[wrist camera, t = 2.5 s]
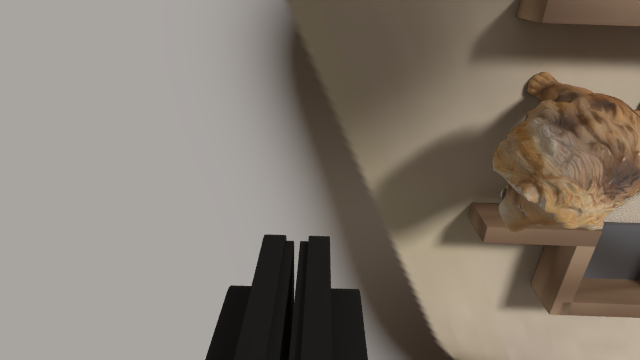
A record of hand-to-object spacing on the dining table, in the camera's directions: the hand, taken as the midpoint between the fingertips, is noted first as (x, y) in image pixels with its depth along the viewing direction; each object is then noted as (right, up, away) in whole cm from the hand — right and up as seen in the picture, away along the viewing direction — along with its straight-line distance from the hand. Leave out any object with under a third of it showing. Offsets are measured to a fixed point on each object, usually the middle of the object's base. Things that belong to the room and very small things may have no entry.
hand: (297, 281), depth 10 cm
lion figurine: (+14, +6, +11) cm, 19 cm away
